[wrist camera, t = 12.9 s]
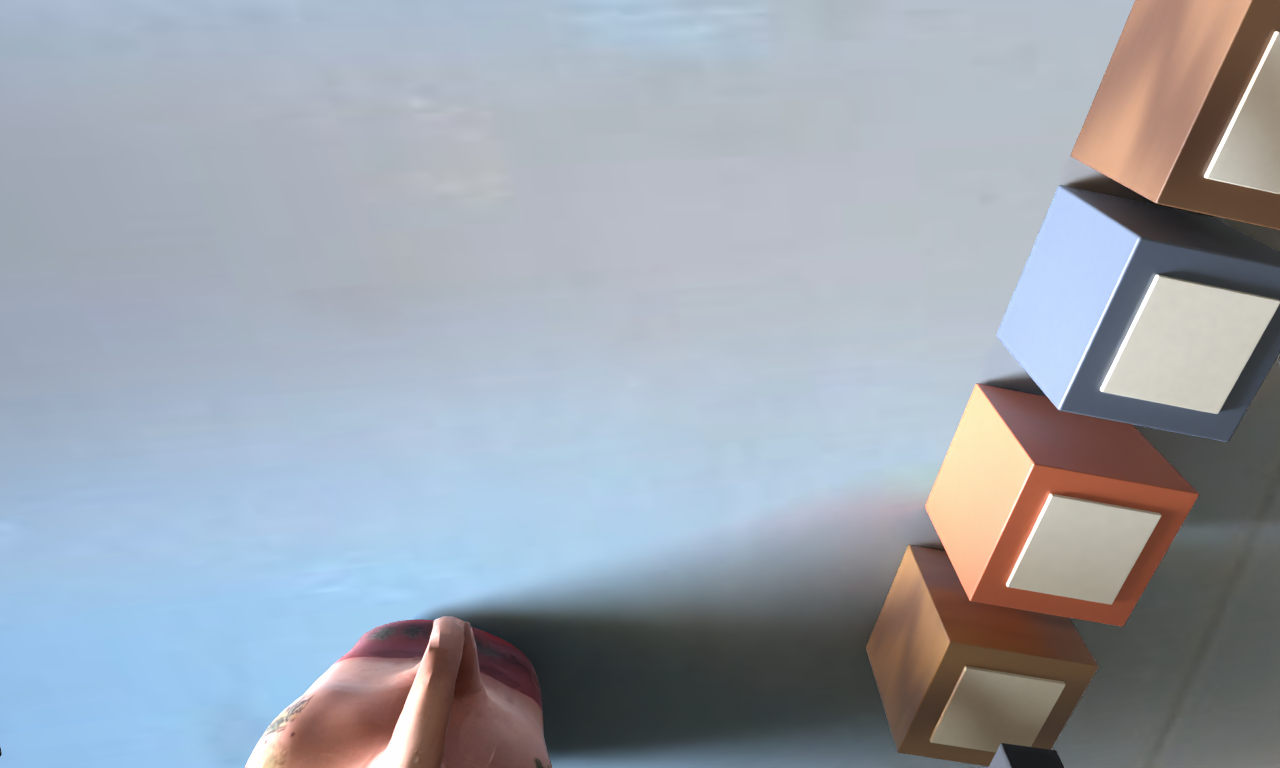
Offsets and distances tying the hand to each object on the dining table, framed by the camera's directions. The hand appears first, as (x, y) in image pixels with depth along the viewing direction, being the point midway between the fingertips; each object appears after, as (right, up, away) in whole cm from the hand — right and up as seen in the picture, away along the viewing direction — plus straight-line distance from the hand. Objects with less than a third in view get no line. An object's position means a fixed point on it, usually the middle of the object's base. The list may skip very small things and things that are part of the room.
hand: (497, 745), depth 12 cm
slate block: (+19, +9, +22) cm, 30 cm away
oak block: (+16, -5, +29) cm, 33 cm away
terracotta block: (+17, +2, +25) cm, 31 cm away
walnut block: (+20, +15, +19) cm, 31 cm away
